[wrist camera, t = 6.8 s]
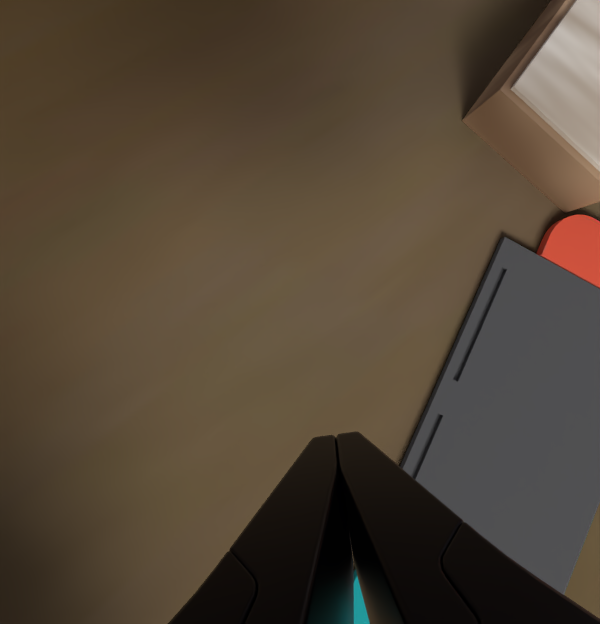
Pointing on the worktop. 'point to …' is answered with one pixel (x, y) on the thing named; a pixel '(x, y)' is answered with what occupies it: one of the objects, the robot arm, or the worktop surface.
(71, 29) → the worktop surface
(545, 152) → the tan wooden block
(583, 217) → the gaming console
